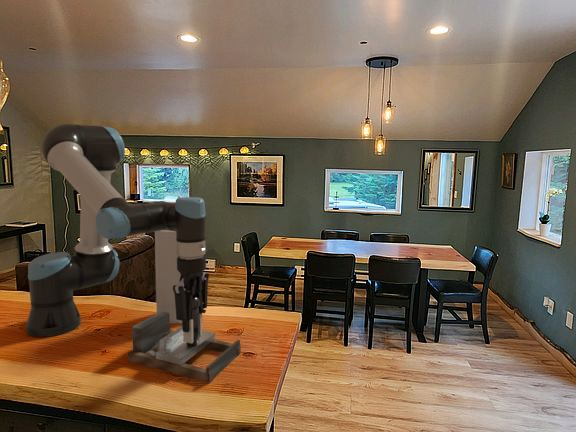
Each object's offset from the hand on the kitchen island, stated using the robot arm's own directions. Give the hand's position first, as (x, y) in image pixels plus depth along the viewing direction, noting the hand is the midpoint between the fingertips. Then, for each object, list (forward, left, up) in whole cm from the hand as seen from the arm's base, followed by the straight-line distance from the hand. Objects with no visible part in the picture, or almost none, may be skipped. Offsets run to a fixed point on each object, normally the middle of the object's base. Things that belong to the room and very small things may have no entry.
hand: (192, 338), depth 108 cm
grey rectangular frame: (-3, 0, -6) cm, 7 cm away
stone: (-9, -1, -6) cm, 11 cm away
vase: (-22, +22, -6) cm, 31 cm away
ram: (-2, 0, -6) cm, 6 cm away
